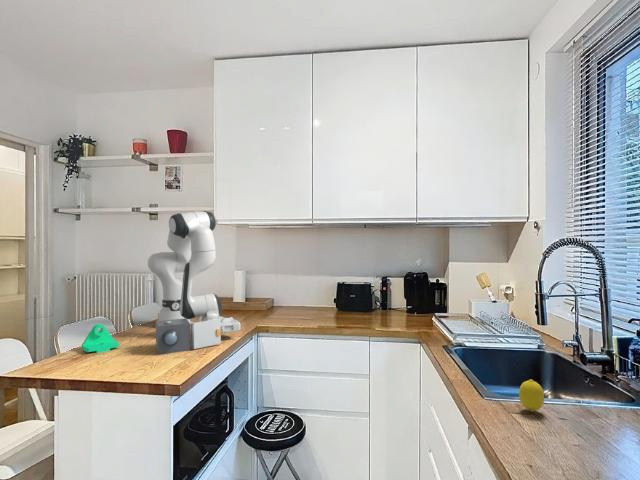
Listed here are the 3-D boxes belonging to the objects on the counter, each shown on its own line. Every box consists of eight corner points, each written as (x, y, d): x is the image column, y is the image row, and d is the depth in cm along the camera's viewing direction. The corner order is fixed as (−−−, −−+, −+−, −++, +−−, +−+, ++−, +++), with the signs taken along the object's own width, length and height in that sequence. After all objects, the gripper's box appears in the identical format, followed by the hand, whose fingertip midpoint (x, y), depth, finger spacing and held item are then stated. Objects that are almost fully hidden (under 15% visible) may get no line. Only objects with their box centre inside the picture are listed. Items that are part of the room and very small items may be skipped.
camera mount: (86, 355, 156) (86, 328, 156) (81, 351, 161) (81, 326, 161) (119, 349, 164) (119, 324, 164) (113, 346, 170) (113, 321, 170)
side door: (219, 343, 169) (219, 318, 169) (221, 344, 168) (221, 319, 168) (190, 349, 161) (190, 323, 161) (192, 349, 159) (192, 323, 160)
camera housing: (155, 347, 166) (155, 319, 166) (186, 343, 171) (185, 316, 171) (158, 355, 153) (158, 325, 153) (191, 351, 158) (190, 322, 158)
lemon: (523, 416, 97) (523, 383, 97) (516, 406, 102) (515, 375, 102) (548, 417, 96) (547, 384, 96) (539, 407, 101) (538, 376, 101)
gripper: (190, 321, 177) (195, 326, 165) (235, 316, 186) (243, 321, 174) (190, 335, 177) (195, 341, 165) (235, 330, 186) (244, 336, 174)
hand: (220, 331), depth 169 cm, fingers closed
